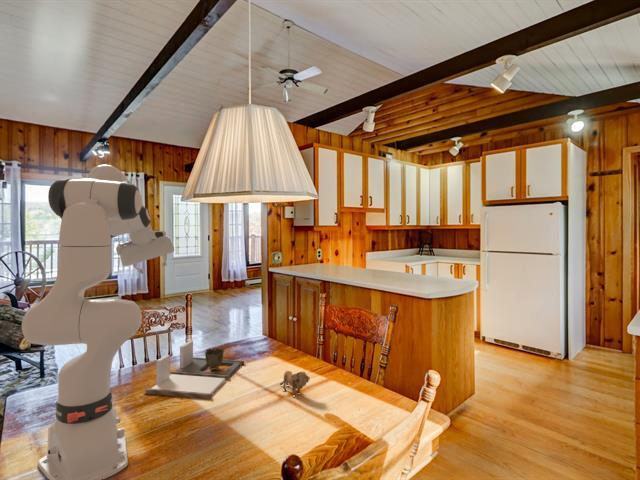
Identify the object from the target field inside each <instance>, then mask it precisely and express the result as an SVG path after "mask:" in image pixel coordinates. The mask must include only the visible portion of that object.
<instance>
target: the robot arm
mask: <svg viewBox="0 0 640 480" xmlns="http://www.w3.org/2000/svg"><path fill="white" fill-rule="evenodd" d="M130 181H131V180H130V179H129V178H128V177H127V176H126V175H125V174H124V173H123V172H122V171H121V170H120V169H118V168H117V167H115V166H114V165H110V164H100V165H97V166H94V167H93V168H92V169H90V171H89V172H88V175H87V178H76V179H72V178H62V179H61V178H60V179H56V180H55V181H54V182H53V183H52V184H51V185H50V187H49V189H48V197H47V198H48V204H49V207H50V210H51V211H53V213H54V214H55V215H56V216H57V217H59V218H60V219H61V222H60V227H59V229H60V230H59V237H58V265H57V272H56V273H57V274H56V279H55V282H54V283H53V286H52V287H51V289H50V290H49V292H48V293H47V294H46V295H45V296H44V297H43V298H42V299H41V300H40V301H38V302H36V304H34V305H32V306H31V307H30V308H29V309H28V310H27V311H26V313H24V314H25V315H23V318H22V321H21V332H22V334H23V337H24V339H25V340H27V342H29V343H30V344H33V345H44V346H51V347H52V346H64V345H65V346H66V345H67V346H68V345H80V344H81V345H82V344H83V345H86V351H85V352H83V353H81V354H79V355H77V356H75V357H73V358H72V359H70V360H68V361H66V363H64V364H63V366H61V368H60V370H59V371H58V372H59V373H58V377H57V378H58V387H57V388H58V390H57V391H58V392H57V396H58V397H57V398H58V399H57V400H56V403H55V410H54V411H55V420H53V423H51V424H50V426H49V427H48V430H47V431H48V432H47V451H46V455H45V456H42V457H41V458H39V460H38V462H37V467H38V469H39V470H40V471H41V472H42V473H43V475H44V476H45V477H46V478H47V480H48V479H49V480H102V479H103V480H106V479H107V478H109V477H112V476H113V475H116V474H117V473H119V472H121V471H122V470H124V469H125V468H126V467H127V466H128V464H129V462H128V461H129V460H128V450H127V441H126V440H127V438H126V433H125V427H120V428H117V424H120V423H121V417H117V408H115V407H114V406H113V395H112V393H113V392H112V389H111V384H110V383H111V374H112V365H113V361H114V358H115V356H116V354H117V352H118V351H119V350H120V349H121V347H122V346H123V344H125V343H126V342H127V341H128V340H129V339H130V338H132V337H134V335H136V333H137V332H138V330H139V329H140V327H141V325H142V321H143V320H142V319H143V317H142V310H141V309H140V307H139V305H138V304H137V303H136V302H135V301H133V300H128V299H121V298H99V299H98V298H95V299H94V298H93V299H87V298H85V292H86V290H88V289H90V288H93V287H95V286H97V285H98V284H100V283H103V282H104V281H105V280H107V279H108V278H109V276H110V274H111V272H112V270H111V269H112V266H111V265H112V261H111V260H112V253H111V252H112V239H113V238H116V237H119V236H123V235H126V234H128V236H129V239H130V240H129V241H125V242H123V243H122V242H121V243H119V244H118V245H117V246H116V248H115V250H116V253H117V254H118V255H119V257H120V261H121V265H122V266H124V267H129V266H132V267H133V268H134V269H136V270H137V272H138V274H139V275H142V274H143V273H144V271H143V268H139V267H138V264H139V263H141V262H145V261H148V260H152V259H155V258H158V257H162V258H163V261H162V262H161V265H162V267H166V266H168V264H167V260H168V259H167V258H168V255H169V254H172V253H174V251H175V247H174V244H173V243H172V240H171V238H170V237H168V236H167V232H166V231H165V230H153V228H152V225H151V224H150V223H151V222H152V218H151V215H150V212H149V209H148V208H147V207H145V206H144V203H143V199H142V195H141V191H140V189H139V188H138V186H136V185H135V184H133V183H131V182H130Z"/></svg>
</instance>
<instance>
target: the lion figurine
mask: <svg viewBox="0 0 640 480" xmlns="http://www.w3.org/2000/svg"><path fill="white" fill-rule="evenodd" d="M310 378H311V377H310V376H309V375H307V374H306V372H305V371H300V372H296V373H293V372H292V371H291V370H290V371H289V370H286V371H285V372H284V374H283V381H282V382H280V383H279V385H280V386H282V385H283V389H284V390H286V391H287V389H286V387H287V386H286V385H289V386H291V388H292V389H291V391H292V396H293V395H297V393H301V391H300V390H301V389H303V387H306V385H307V383H309V381H310V380H311V379H310ZM296 390H297V391H296Z"/></svg>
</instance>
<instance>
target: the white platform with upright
mask: <svg viewBox="0 0 640 480" xmlns="http://www.w3.org/2000/svg"><path fill="white" fill-rule="evenodd" d="M170 360H171V355H170V354H164V355H163V356H162V357H160V358H158V359H157V360H156V383H155V385H154V386H152V387H150V388H151V389H163V390H174V391H186V392H198V393H210V394H212V395H213V394H214V393H215V392H216V390H217V389H219V388H220V387H221V386H222V384H224V383H225V381H226V380H225V378H215V377H202V376H189V375H176V374H171V371H170V368H171V367H170V365H171V364H170V362H171V361H170Z"/></svg>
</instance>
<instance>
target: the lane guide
mask: <svg viewBox="0 0 640 480" xmlns="http://www.w3.org/2000/svg"><path fill="white" fill-rule="evenodd" d="M193 359H200V360H206V357H196V356H195V357H194V356H193ZM222 361H228V362H241V364H244V365H245V360H237V359H224V358H223V360H222ZM171 374H176V375H189V376H202V377H215V378H225V381H230V380H231V375H219V374H206V373H193V372H180V371H176V370H171V371H170V375H171ZM229 379H230V380H229ZM151 388H152V387H150V388H149V387H148V388H147V387H146V388H145V390H144V391H145V392H144V394H147V395H157V396H166V397H167V396H168V397H169V396H170V397H178V398H179V397H180V398H193V399H203V400H212V395H213V394H210V393H198V392H186V391H174V390H163V389H151Z"/></svg>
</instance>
